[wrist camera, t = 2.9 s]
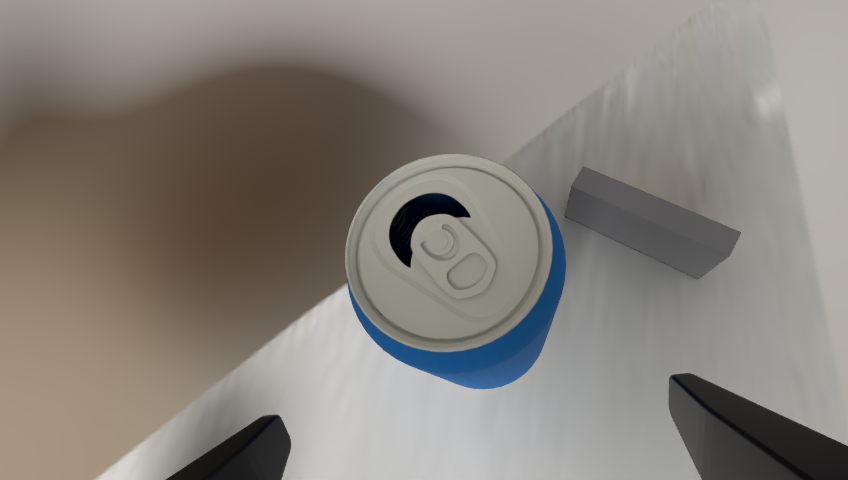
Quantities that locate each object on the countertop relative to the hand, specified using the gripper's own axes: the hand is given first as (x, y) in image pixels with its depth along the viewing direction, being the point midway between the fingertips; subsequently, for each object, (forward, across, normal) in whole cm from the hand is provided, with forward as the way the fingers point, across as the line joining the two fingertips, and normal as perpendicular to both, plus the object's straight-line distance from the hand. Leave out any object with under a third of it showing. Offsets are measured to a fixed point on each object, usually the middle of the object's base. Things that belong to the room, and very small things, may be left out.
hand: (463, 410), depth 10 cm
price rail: (+14, +8, -3) cm, 17 cm away
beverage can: (+12, 0, -6) cm, 13 cm away
